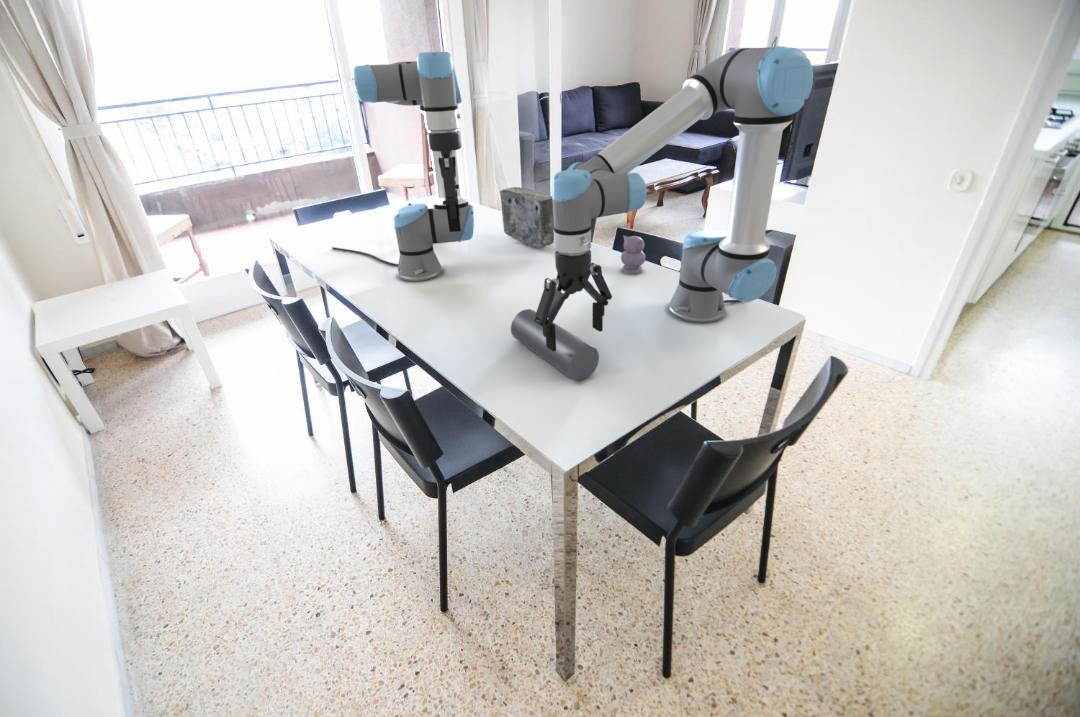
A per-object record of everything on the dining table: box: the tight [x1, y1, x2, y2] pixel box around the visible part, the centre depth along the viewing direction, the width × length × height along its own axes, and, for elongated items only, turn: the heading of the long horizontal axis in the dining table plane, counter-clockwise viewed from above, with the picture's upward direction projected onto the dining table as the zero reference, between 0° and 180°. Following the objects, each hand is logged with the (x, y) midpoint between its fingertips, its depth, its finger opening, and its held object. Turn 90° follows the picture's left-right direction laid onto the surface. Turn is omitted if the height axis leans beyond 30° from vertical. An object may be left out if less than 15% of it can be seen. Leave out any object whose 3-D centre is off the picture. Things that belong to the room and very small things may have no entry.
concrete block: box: [499, 186, 554, 249], centre depth 194 cm, size 27×9×20 cm, turn 36°
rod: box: [510, 308, 600, 382], centre depth 122 cm, size 24×9×9 cm, turn 35°
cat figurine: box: [620, 234, 646, 275], centre depth 168 cm, size 9×8×12 cm
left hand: (454, 223), depth 125 cm, fingers open, 13 cm apart
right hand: (575, 338), depth 114 cm, fingers open, 13 cm apart
